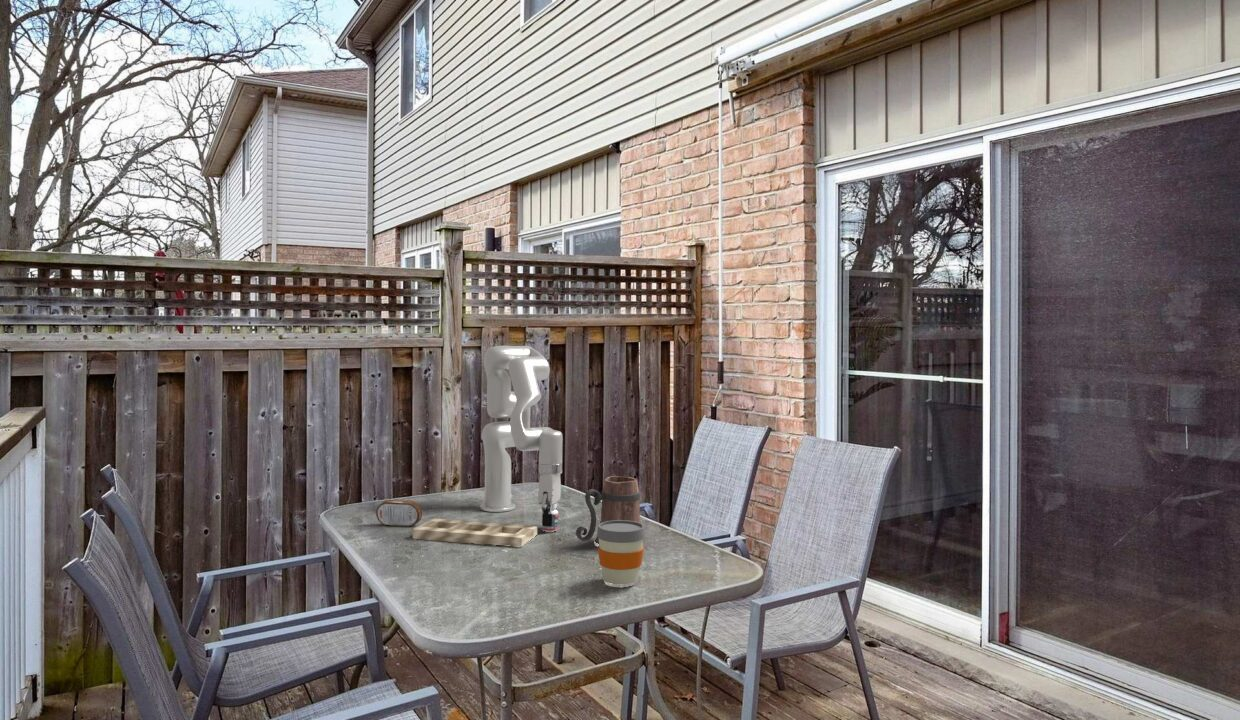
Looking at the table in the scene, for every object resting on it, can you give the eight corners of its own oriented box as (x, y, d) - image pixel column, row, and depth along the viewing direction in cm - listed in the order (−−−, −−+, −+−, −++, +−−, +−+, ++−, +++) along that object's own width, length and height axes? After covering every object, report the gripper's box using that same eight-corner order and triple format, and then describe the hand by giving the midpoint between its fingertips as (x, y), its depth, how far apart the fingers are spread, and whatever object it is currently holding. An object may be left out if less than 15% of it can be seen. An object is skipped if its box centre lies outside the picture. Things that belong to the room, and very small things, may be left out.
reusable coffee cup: (607, 592, 198) (608, 534, 197) (589, 577, 209) (590, 522, 208) (652, 586, 203) (653, 529, 202) (632, 572, 214) (633, 518, 214)
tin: (422, 525, 261) (422, 500, 261) (419, 528, 258) (419, 502, 258) (378, 523, 263) (378, 498, 262) (374, 526, 259) (374, 501, 259)
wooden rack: (412, 538, 245) (412, 529, 245) (433, 527, 258) (433, 518, 258) (521, 547, 237) (521, 537, 236) (537, 535, 250) (537, 526, 250)
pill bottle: (557, 532, 254) (557, 505, 253) (540, 532, 254) (541, 505, 254) (559, 528, 259) (559, 502, 259) (543, 528, 259) (543, 501, 259)
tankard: (629, 533, 255) (629, 472, 254) (657, 546, 240) (659, 481, 239) (564, 542, 243) (565, 478, 242) (590, 556, 228) (591, 488, 227)
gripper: (548, 463, 265) (547, 516, 266) (530, 472, 248) (530, 529, 249) (569, 464, 263) (568, 518, 264) (553, 473, 246) (552, 531, 247)
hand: (550, 523), depth 256 cm, fingers closed on pill bottle, 5 cm apart
